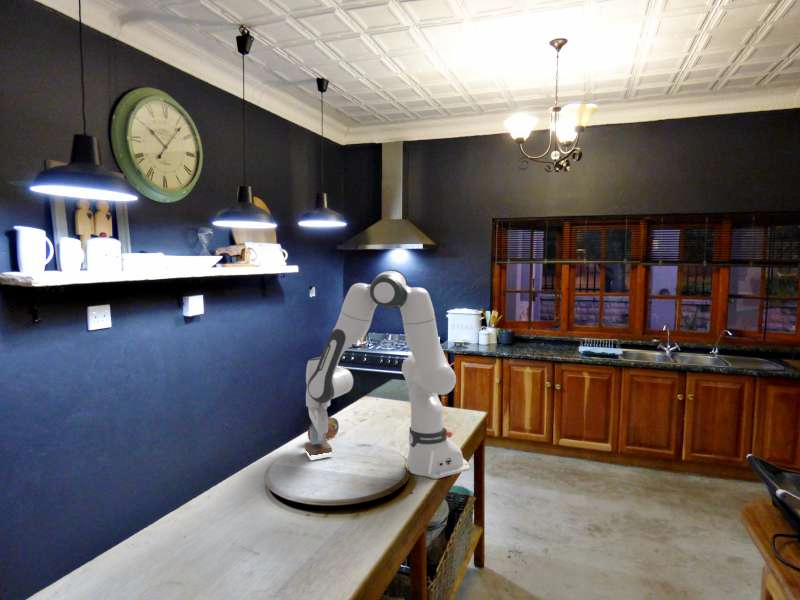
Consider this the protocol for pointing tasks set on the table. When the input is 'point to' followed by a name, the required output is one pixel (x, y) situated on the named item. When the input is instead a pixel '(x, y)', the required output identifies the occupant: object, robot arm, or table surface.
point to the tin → (329, 428)
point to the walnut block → (318, 448)
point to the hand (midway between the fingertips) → (318, 437)
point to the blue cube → (314, 436)
